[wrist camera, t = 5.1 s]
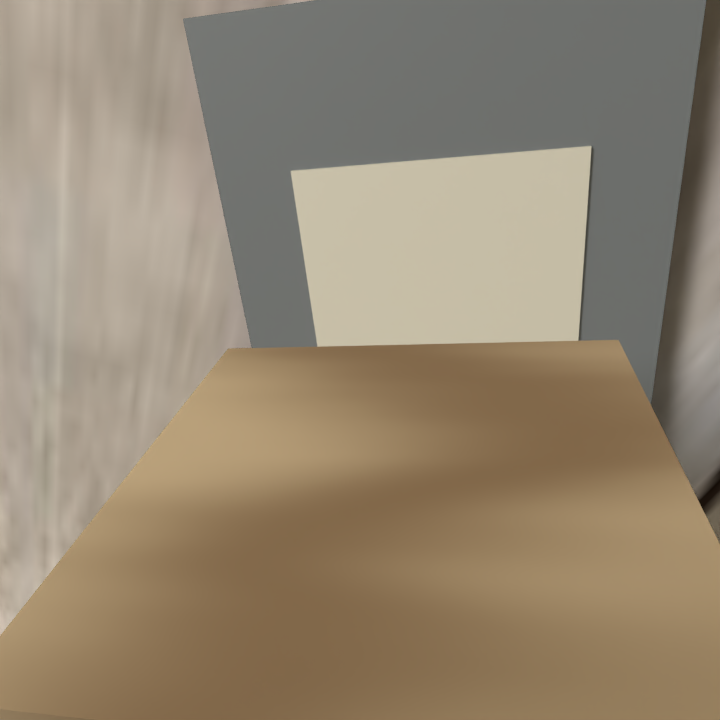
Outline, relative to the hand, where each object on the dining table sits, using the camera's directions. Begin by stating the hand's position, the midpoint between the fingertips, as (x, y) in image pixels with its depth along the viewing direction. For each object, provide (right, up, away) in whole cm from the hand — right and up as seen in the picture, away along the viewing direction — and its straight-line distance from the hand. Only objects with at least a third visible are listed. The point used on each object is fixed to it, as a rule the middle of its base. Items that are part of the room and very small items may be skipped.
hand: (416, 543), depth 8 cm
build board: (+2, +5, +9) cm, 10 cm away
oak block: (0, 0, +1) cm, 1 cm away
